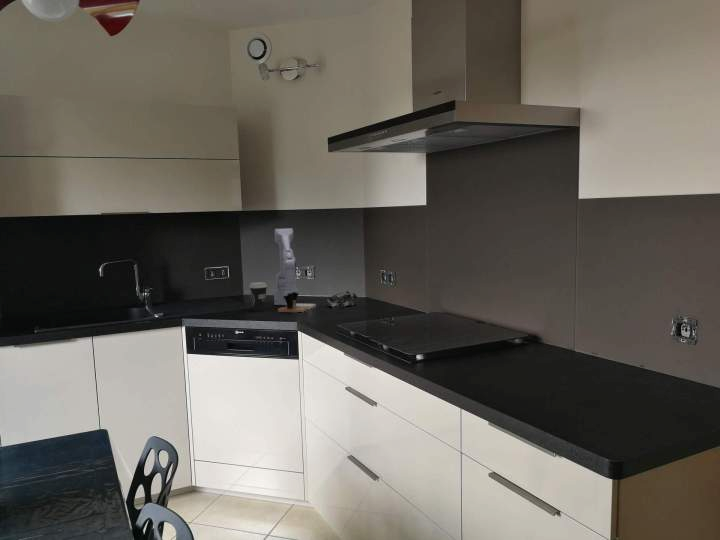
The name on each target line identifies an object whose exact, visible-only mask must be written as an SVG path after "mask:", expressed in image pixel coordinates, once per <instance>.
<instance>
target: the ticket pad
mask: <svg viewBox="0 0 720 540" xmlns="http://www.w3.org/2000/svg"><path fill="white" fill-rule="evenodd" d="M315 306H316V307H317V304H316V303H300V302H299V303H297V302H296V308H306V310H309V309H310V310H312V309H314V308H316V307H315ZM285 307H286V308H287V305H285ZM313 307H314V308H313ZM311 308H312V309H311Z"/></svg>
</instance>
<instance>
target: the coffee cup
mask: <svg viewBox="0 0 720 540" xmlns="http://www.w3.org/2000/svg"><path fill="white" fill-rule="evenodd" d="M267 287H268V285H267V283H266V282H265V281H259V282H258V281H257V282H250V285H249V287H248V288H250V289H249V291H250V297H251V305H252V312H254V311H256V312H255V313H257V312H258V313H260V312H261V311H262V312H265V311H266V309H267V308H266V305H267Z"/></svg>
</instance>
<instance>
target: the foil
mask: <svg viewBox="0 0 720 540" xmlns="http://www.w3.org/2000/svg"><path fill="white" fill-rule="evenodd" d="M338 296H339V297H338ZM354 300H356V301H357V300H358V296H357V294H356V293H350V292H349V290H347V291H346V292H343V291H342V293H340V294H338V293H337V294H333V295H332V297H330V298H326V302H327V303H328V306H329V307H331V308H332V309H342V308H343V307H344V308H345V307H346V306H350V307H352V306H354V305H355V302H354ZM335 307H337V308H335ZM344 308H343V309H344Z"/></svg>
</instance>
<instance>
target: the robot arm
mask: <svg viewBox="0 0 720 540" xmlns="http://www.w3.org/2000/svg"><path fill="white" fill-rule="evenodd" d="M293 239H294V229H293V228H292V227H290V228H289V227H288V228H275V229H274V242H275V243H277V244H278V247H279V267H280V271H279V272H278V273H277V274H275V289H274V292H273V297H274V298H273V299H274V300H273V302H274V304H273V305H278V306H279V305H280V306H288V308H292V305H293V300H296V301H297V299H298V296H299V288H297V278H296V275H297V274H296V270H297V260H296V257H295V255H294V251H293V249H292V248H291V242H292V241H293Z"/></svg>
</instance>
